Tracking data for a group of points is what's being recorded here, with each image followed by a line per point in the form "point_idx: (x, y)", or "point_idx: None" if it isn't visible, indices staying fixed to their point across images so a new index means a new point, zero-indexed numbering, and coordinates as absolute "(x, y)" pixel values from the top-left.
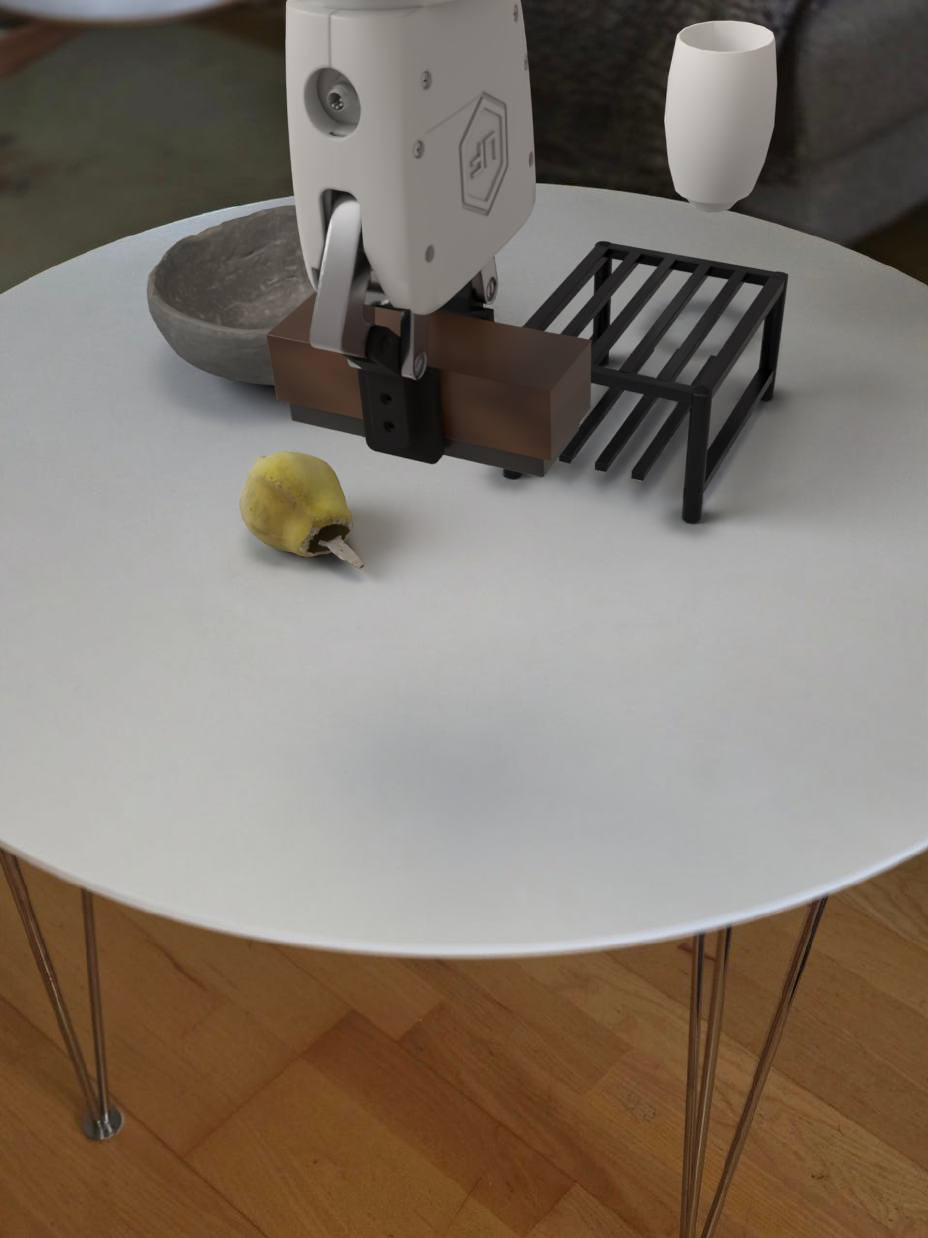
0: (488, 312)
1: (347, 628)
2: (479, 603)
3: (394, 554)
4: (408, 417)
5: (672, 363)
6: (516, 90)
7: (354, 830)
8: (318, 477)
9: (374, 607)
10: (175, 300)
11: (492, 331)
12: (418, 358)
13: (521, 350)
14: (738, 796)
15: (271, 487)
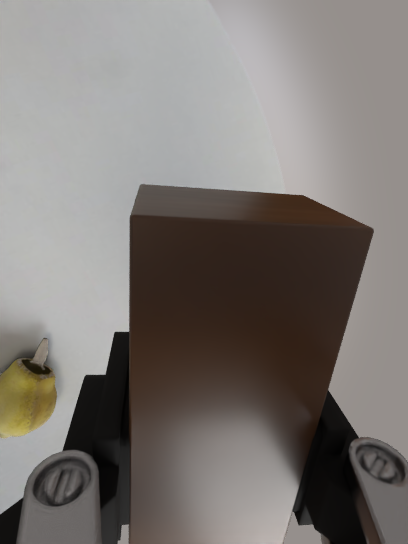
0: (109, 441)
1: (91, 321)
2: (31, 263)
3: (15, 327)
4: (334, 401)
5: None
6: None
7: None
8: (6, 400)
9: (67, 316)
10: None
11: (168, 408)
12: (387, 473)
13: (223, 337)
14: (126, 37)
15: (34, 417)
